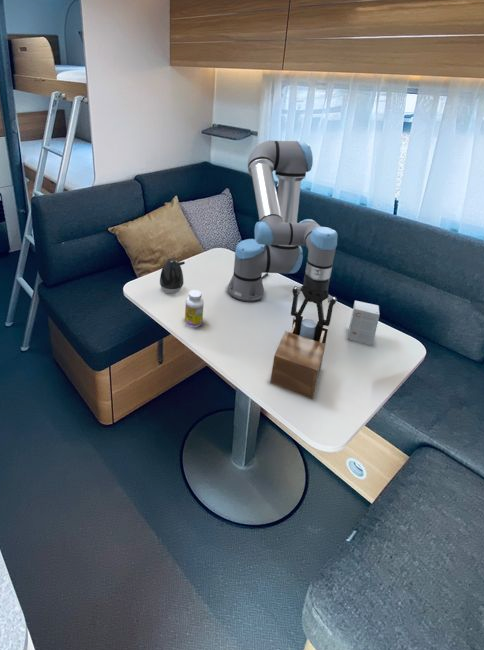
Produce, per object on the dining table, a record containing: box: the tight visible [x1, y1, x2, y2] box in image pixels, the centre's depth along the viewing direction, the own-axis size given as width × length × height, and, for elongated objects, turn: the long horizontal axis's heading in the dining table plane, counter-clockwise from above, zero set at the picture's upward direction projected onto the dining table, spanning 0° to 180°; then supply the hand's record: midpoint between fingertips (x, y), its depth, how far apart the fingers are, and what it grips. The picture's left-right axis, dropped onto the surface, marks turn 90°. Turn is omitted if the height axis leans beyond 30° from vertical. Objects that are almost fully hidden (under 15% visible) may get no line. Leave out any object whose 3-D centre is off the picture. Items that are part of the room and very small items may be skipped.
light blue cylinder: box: [299, 318, 317, 340], centre depth 135 cm, size 5×5×6 cm
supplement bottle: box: [184, 289, 205, 328], centre depth 152 cm, size 7×7×13 cm
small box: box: [348, 300, 380, 346], centre depth 146 cm, size 8×6×13 cm
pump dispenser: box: [159, 257, 186, 294], centre depth 173 cm, size 10×10×15 cm
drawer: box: [289, 316, 329, 345], centre depth 138 cm, size 17×11×9 cm
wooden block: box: [269, 330, 326, 400], centre depth 127 cm, size 14×13×11 cm
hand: (306, 337), depth 136 cm, fingers closed on light blue cylinder, 5 cm apart
